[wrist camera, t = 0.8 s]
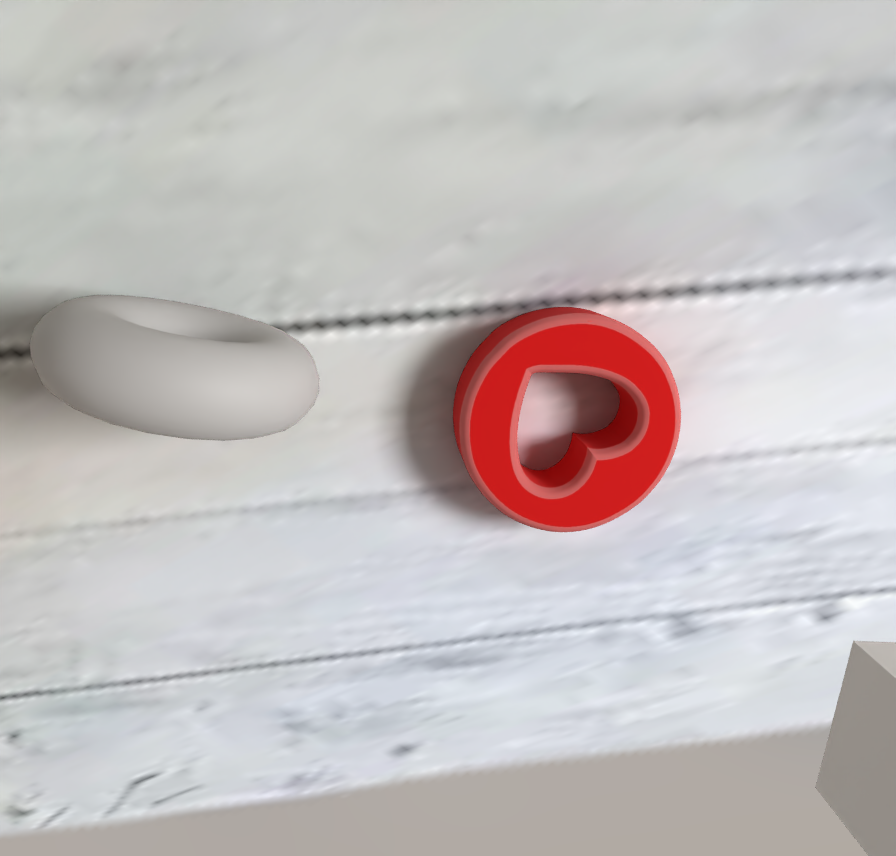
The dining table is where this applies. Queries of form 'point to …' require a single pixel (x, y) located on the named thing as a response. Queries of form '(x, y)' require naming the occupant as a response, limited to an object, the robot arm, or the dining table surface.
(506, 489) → the decorative ornament
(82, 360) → the donut
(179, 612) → the dining table surface
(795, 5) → the dining table surface
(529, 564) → the dining table surface
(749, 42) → the dining table surface
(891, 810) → the robot arm
